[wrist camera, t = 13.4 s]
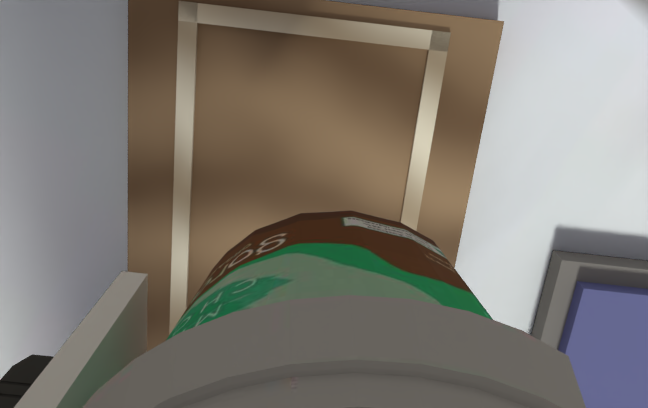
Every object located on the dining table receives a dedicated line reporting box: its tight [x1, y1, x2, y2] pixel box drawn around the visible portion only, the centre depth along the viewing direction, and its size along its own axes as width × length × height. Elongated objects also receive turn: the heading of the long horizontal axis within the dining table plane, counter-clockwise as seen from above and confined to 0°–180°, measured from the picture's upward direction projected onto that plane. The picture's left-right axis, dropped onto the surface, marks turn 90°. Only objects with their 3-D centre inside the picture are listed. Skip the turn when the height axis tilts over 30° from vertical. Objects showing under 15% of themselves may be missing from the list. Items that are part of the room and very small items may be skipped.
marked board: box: [128, 0, 504, 351], centre depth 28 cm, size 19×16×1 cm
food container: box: [82, 210, 586, 408], centre depth 14 cm, size 12×6×10 cm, turn 145°
